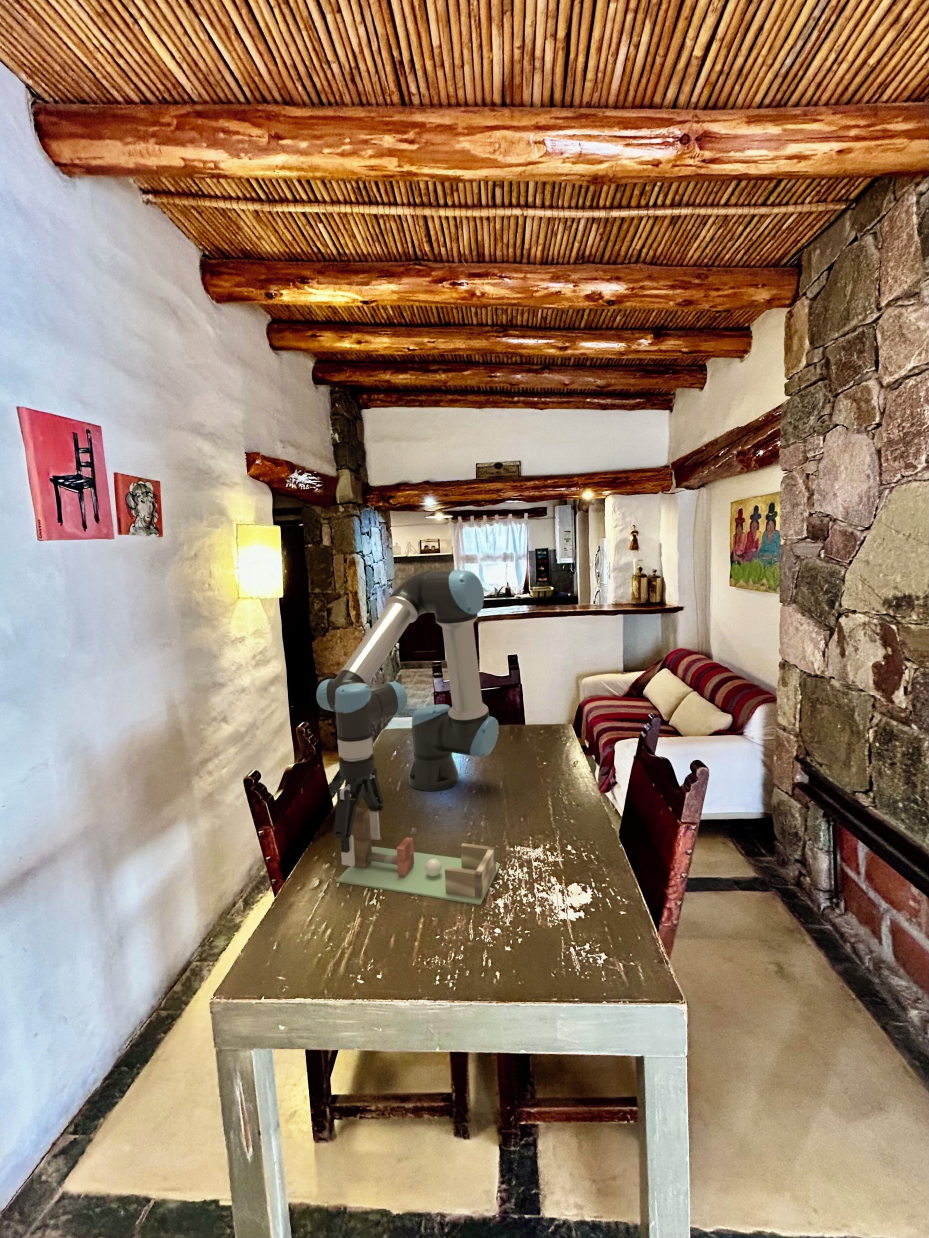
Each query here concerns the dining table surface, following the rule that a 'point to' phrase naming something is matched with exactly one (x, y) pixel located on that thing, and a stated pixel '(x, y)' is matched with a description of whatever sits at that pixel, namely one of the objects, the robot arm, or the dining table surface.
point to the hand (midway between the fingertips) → (361, 851)
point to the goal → (471, 871)
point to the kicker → (364, 848)
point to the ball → (433, 867)
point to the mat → (409, 877)
